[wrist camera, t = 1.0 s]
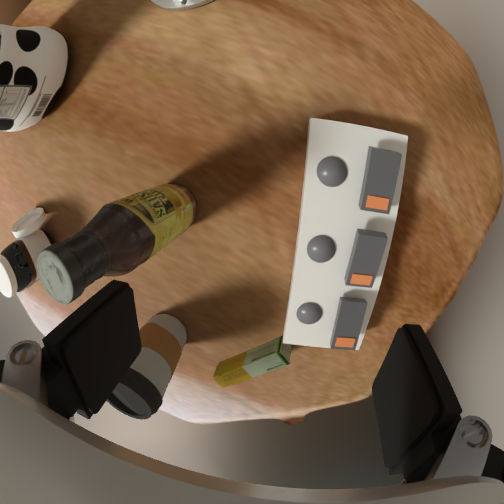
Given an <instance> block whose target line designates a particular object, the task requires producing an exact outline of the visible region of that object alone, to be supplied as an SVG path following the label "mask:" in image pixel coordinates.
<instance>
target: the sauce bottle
mask: <svg viewBox="0 0 504 504" xmlns="http://www.w3.org/2000/svg"><path fill="white" fill-rule="evenodd" d="M196 212H197V207H196V202H195V199H194V197H193V195H192V194H191V193H190V192H189V191H188V190H187V189H186V188H184V187H183V186H180V185H178V184H163V185H159V186H156V187H153V188H150V189H148V190H145V191H142V192H138V193H136V194H133V195H130V196H127V197H125V198H122V199H120V200H117V201H113V202H111V203H109V204H106V205H104V206H103V207H102V208H101V209H100V211H99V212H98V213H97V214H96V216H95V217H94V218H93V219H92V220H91V221H90V222H89V223H88V224H87V225H86V226H85V227H84V228H83V230H82V231H80V232H78V233H77V234H76V235H74V236H73V237H71V238H69V239H67V240H65V241H63V242H62V243H54V244H52V245H50V246H48V247H47V248H45V249H43V250H42V251H41V252H40V254H39V256H38V259H37V270H38V274H39V278H40V280H41V283H42V284H43V286H44V288H45V290H46V291H47V292H48V294H49V295H50V296H51V297H52V298H53V299H54V300H56V301H57V302H59V303H61V304H69V303H71V302H72V301H74V300H75V299H76V298H78V297H79V296H80V295H81V294H82V293H83V291H84V288H86V287H87V286H88V285H90V284H92V283H93V282H94V281H95V280H97V279H99V278H101V277H102V276H121V275H124V274H127V273H129V272H131V271H132V270H134V269H135V268H136V267H137V266H139V265H140V264H142V263H144V262H146V261H147V260H148V259H149V258H151V257H152V256H153V255H155V254H156V253H157V252H158V251H160V250H161V249H162V248H164V247H165V246H166V245H168V244H169V243H170V242H171V241H173V240H174V239H176V238H177V237H178V236H180V235H181V234H182V233H184V232H185V231H186V230H187V229H188V228H189V227H190V226H191V224H192V222H193V221H194V219H195V217H196Z"/></svg>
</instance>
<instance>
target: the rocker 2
mask: <svg viewBox="0 0 504 504" xmlns="http://www.w3.org/2000/svg"><path fill="white" fill-rule="evenodd" d="M401 158H402V154H400V153H399V152H396V151H391V150H387V149H382V148H377V147H372V146H369V147H368V154H367V160H366V166H365V172H364V178H363V183H362V189H361V194H360V199H359V204H358V205H359V208H360V210H365V211H371V212H377V213H383V214H389V213H390V209H391V205H392V201H393V197H394V192H395V188H396V183H397V178H398V174H399V169H400V163H401Z"/></svg>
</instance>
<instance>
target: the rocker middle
mask: <svg viewBox="0 0 504 504" xmlns="http://www.w3.org/2000/svg"><path fill="white" fill-rule="evenodd" d="M387 241H388V237H387V235H386V233H385V232H378V231H371V230H365V229H357V231H356V235H355V239H354V243H353V247H352V251H351V255H350V259H349V263H348V267H347V270H346V274H345V278H344V279H345V285H348V286H357V287H367V288H372V287H373V284H374V281H375V278H376V275H377V272H378V269H379V266H380V263H381V260H382V257H383V254H384V250H385V247H386V244H387Z"/></svg>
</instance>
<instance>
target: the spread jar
mask: <svg viewBox="0 0 504 504" xmlns="http://www.w3.org/2000/svg"><path fill="white" fill-rule="evenodd" d="M45 219H46V215H45V212H44V210H43V208H35V209H33V210H30V211H29V212H27V213H25V214H24V215H23V216H21V217H20V218H19V219H18V220H17V221H16V222H15V223H14V225H13V227H12V232H13V234H14V236H15V238H17V239H18V240H16V241H14V242H13V243H11V244H10V245H8V246H7V247H6V248H5V249H4V250H3V251H2V252H1V254H0V291H1V293H2V294H3V295H4V296H6V297H9V298H10V297H11V296H13V295H14V294H16V292H21V291H23V290H25V289H27V288H28V287H30V286H31V285H33V284H34V283H35V282H37V281H38V280H40V278H39V274H38V270H37V259H38V256H39V254H40V252H41V251H42V250H43V249H45V248H47V247H48V246H50V245H52V244H54V242H53V241H52V239H51V238H50V237H49V235H48V234H47V233H46V232H45V231H43V230H37V229H38V228H39V227H40V226H41V225H42V224H43V222H44V221H45ZM35 230H36V231H35Z"/></svg>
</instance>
